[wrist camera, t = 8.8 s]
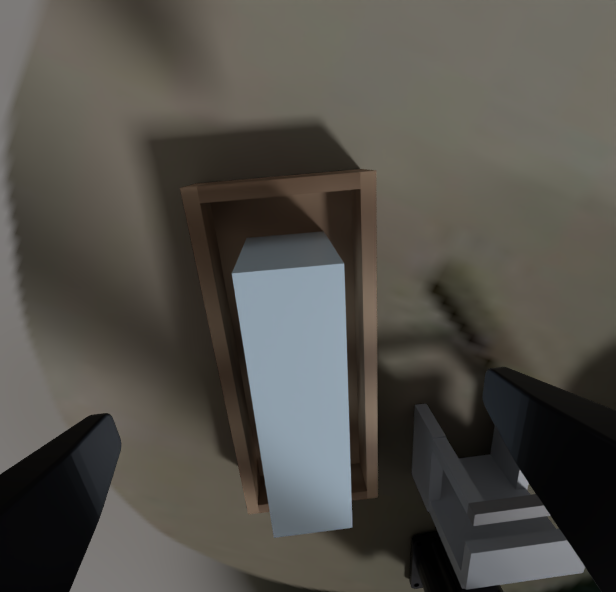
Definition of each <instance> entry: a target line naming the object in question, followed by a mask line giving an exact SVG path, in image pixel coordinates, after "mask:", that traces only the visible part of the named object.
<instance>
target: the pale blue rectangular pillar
mask: <svg viewBox="0 0 616 592" xmlns="http://www.w3.org/2000/svg"><path fill="white" fill-rule="evenodd" d="M232 278H233V284H234V291H235V297H236V303H237V309H238V316H239V322H240V328H241V335H242V341H243V347H244V353H245V360H246V366H247V372H248V378H249V385H250V391H251V397H252V403H253V410H254V416H255V422H256V428H257V435H258V441H259V447H260V453H261V460H262V466H263V472H264V478H265V485H266V491H267V497H268V504H269V510H270V516H271V522H272V529H273V535H274V538H276V537H284V536H291V535H299V534H307V533H315V532H323V531H331V530H338V529H346V528H352V497H351V465H350V433H349V401H348V369H347V337H346V305H345V273H344V262H343V261H342V259H341V258H340V256H339V254H338V253H337V251H336V250H335V248H334V247H333V245H332V244H331V242H330V240H329V239H328V237H327V236H326V234H325V233H324V231H322V232H311V233H299V234H287V235H276V236H264V237H252V238H246V241H245V243H244V245H243V248H242V250H241V253H240V255H239V257H238V260H237V262H236V265H235V267H234V269H233V272H232Z"/></svg>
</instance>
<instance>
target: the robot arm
mask: <svg viewBox="0 0 616 592" xmlns="http://www.w3.org/2000/svg"><path fill="white" fill-rule="evenodd" d="M483 403H484V406H485V408H486V410H487V412H488V413H489V415H490V417H491V419H492V421H493V423H494V425H495V426H496V428H497V430H498V432H499V434H500V436H501V437H502V439H503V441H504V443H505V445H506V447H507V449H508V450H509V452H510V454H511V456H512V458H513V459H514V461H515V463H516V464H517V466H518V468H519V469H520V471H521V472H522V474H523V475H524V477H525V478H526V480H527V481H528V483H529V484H530V486H531V487H532V489H533V490H534V492H535V493H536V495H537V496H538V498H539V499H540V501H541V502H542V504H543V505H544V507H545V508H546V510H547V511H548V512H549V514H550V515H551V517H552V518H553V520H554V521H555V523H556V524H557V526H558V527H559V529H560V530H561V532H562V533H563V535H564V536H565V538H566V539H567V541H568V542H569V544H570V545H571V547H572V548H573V550H574V551H575V553H576V554H577V556H578V557H579V559H580V560H581V562H582V563H583V565H584V566H585V568H586V569H587V571H588V572H589V574H590V575H591V576H592V578H593V579H594V581H595V582H596V584H597V585H598V587H599V588H600V590H601V591H602V592H616V411H615V410H613V409H610V408H608V407H605V406H603V405H600V404H598V403H595V402H593V401H590V400H588V399H585V398H583V397H580V396H578V395H575V394H573V393H570V392H568V391H565V390H562V389H560V388H557V387H555V386H552V385H550V384H547V383H545V382H542V381H540V380H537V379H535V378H532V377H530V376H527V375H525V374H522V373H520V372H517V371H515V370H512V369H510V368H507V367H497V368H490V369H488V370H487V371H486V374H485V381H484V388H483ZM120 451H121V439H120V436H119V434H118V431H117V428H116V425H115V423H114V420H113V418H112V416H111V415H110V414H108V413H103V414H94V415H90V416H88V417H86V418H85V419H83V420H82V421H80V422H79V423H77V424H76V425H74V426H73V427H71V428H70V429H68V430H67V431H65V432H64V433H62V434H61V435H59V436H58V437H56V438H55V439H53V440H52V441H50V442H48V443H47V444H46V445H44V446H42V447H41V448H40V449H38V450H37V451H35V452H33V453H32V454H30V455H29V456H27V457H26V458H24V459H23V460H21V461H20V462H18V463H17V464H15V465H14V466H12V467H11V468H9V469H8V470H6V471H5V472H3V473H2V474H0V592H69V591H70V589H71V586H72V584H73V582H74V579H75V577H76V574H77V572H78V570H79V567H80V565H81V562H82V560H83V557H84V555H85V553H86V550H87V548H88V545H89V543H90V541H91V538H92V536H93V533H94V531H95V529H96V526H97V523H98V521H99V518H100V515H101V512H102V509H103V507H104V503H105V500H106V497H107V493H108V490H109V487H110V484H111V480H112V477H113V474H114V471H115V467H116V464H117V461H118V458H119V454H120ZM409 581H410V584H411V587H412V588H414V589H417V588H424V591H425V592H503V590H502V588H501V586H500V585H495V586H488V587H481V588H474V589H467V590H466V589H462V587H461V585H460V583H459V580H458V578H457V576H456V573H455V571H454V569H453V566H452V564H451V562H450V559H449V557H448V555H447V552H446V550H445V548H444V545H443V543H442V541H441V538H440V536H439V534H438V532H437V533H429V534H422V535H416V536H414V537H413V538H412V540H411V560H410V580H409Z"/></svg>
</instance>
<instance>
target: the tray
mask: <svg viewBox="0 0 616 592" xmlns="http://www.w3.org/2000/svg"><path fill="white" fill-rule="evenodd" d="M180 191H181V195H182V200H183V205H184V210H185V214H186V219H187V224H188V229H189V234H190V238H191V243H192V248H193V253H194V257H195V262H196V267H197V272H198V276H199V281H200V286H201V291H202V296H203V300H204V305H205V310H206V315H207V319H208V324H209V329H210V334H211V338H212V343H213V348H214V353H215V358H216V362H217V367H218V372H219V377H220V381H221V386H222V391H223V396H224V400H225V405H226V410H227V415H228V420H229V424H230V429H231V434H232V439H233V443H234V448H235V453H236V458H237V462H238V467H239V472H240V477H241V481H242V486H243V491H244V496H245V501H246V505H247V510H248V514H256V513H263V512H270V510H269V504H268V497H267V491H266V485H265V478H264V472H263V466H262V460H261V453H260V447H259V441H258V435H257V428H256V422H255V416H254V410H253V403H252V397H251V391H250V385H249V378H248V372H247V366H246V360H245V353H244V347H243V341H242V335H241V328H240V322H239V316H238V309H237V303H236V297H235V291H234V284H233V278H232V272H233V269H234V267H235V265H236V262H237V260H238V257H239V255H240V253H241V250H242V248H243V245H244V243H245V241H246V238H252V237H264V236H276V235H287V234H299V233H311V232H322V231H324V233H325V234H326V236H327V237H328V239H329V240H330V242H331V244H332V245H333V247H334V248H335V250H336V251H337V253H338V254H339V256H340V258H341V259H342V261H343V262H344V273H345V305H346V337H347V369H348V401H349V433H350V465H351V497H352V501H355V500H362V499H370V498H378V409H377V224H376V170H365V169H356V170H344V171H333V172H322V173H310V174H299V175H288V176H276V177H265V178H253V179H242V180H231V181H219V182H208V183H197V184H193V185H189V186H185V187H182V188H180Z"/></svg>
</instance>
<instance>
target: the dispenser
mask: <svg viewBox="0 0 616 592" xmlns="http://www.w3.org/2000/svg"><path fill="white" fill-rule="evenodd" d="M412 476H413V478H414V481H415V483H416V486H417V488H418V490H419V493H420V495H421V497H422V500H423V502H424V504H425V507H426V509H427V511H428V512H429V513H430V515H431V517H432V520H433V522H434V524H435V527H436V529H437V531H438V534H439V536H440V538H441V541H442V543H443V545H444V548H445V550H446V552H447V555H448V557H449V559H450V562H451V564H452V566H453V569H454V571H455V573H456V576H457V578H458V580H459V583H460V585H461V587H462V589H466V590H467V589H474V588H481V587H488V586H495V585H501V584H508V583H515V582H522V581H529V580H536V579H543V578H550V577H557V576H564V575H571V574H577V573H583V571H584V568H585V566H584V565H583V563H582V562H581V560H580V559H579V557H578V556H577V554H576V553H575V551H574V550H573V548H572V547H571V545H570V544H569V542H568V541H567V539H566V538H565V536H564V535H563V533H562V532H561V530H560V529H556V528H555V527H554V525H553V524H552V523H551V521H550V520H549V519H548V517H547V516H551V515H550V514H549V512H548V511H547V510H546V508H545V507H544V505H543V504H542V502H541V501H540V499H539V498H538V496H537V495H536V494H533V495H530V493H529V492H528V491H527V487H528V481H527V480H526V478H525V477H524V475H523V474H522V472H521V471H520V469H519V468H518V466H517V464H516V463H515V461H514V459H513V458H512V456H511V454H510V452H509V450H508V449H507V447H506V445H505V443H504V441H503V439H502V437H501V436H500V434H499V432H498V430H497V428H496V426H495V427H494V433H493V440H492V446H491V453H490V455H482V456H474V457H466V458H458V457H457V455H456V453H455V452H454V450H453V448H452V447H451V445H450V443H449V442H448V440H447V438H446V435H445V434H444V432H443V430H442V429H441V427H440V425H439V424H438V422H437V420H436V419H435V417H434V415H433V414H432V412H431V411H430V409H429V407H428V406H427V404H418V405H415V411H414V434H413V456H412Z"/></svg>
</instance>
